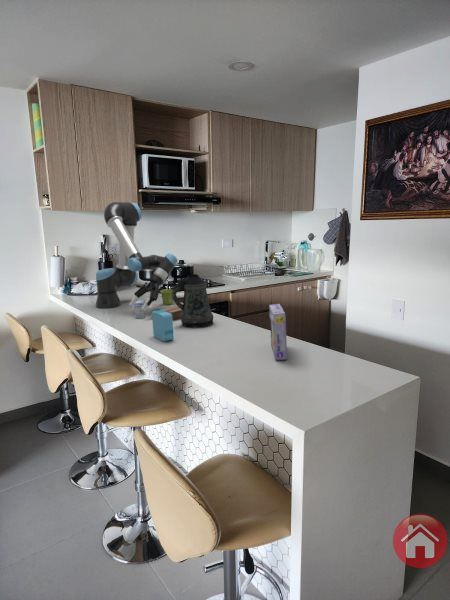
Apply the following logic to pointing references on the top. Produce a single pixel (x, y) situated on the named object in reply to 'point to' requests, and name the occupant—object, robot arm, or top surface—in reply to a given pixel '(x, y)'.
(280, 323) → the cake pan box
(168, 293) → the plant pot
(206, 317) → the beer stein
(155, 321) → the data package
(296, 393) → the top surface
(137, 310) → the medicine box
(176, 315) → the walnut block
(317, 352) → the top surface
